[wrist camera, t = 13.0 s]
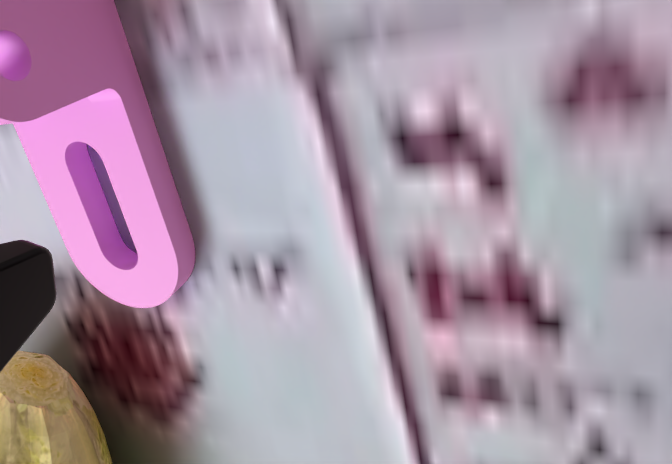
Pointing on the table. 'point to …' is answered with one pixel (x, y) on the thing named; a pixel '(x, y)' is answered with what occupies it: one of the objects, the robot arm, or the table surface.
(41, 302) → the robot arm
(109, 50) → the bracket
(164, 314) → the table surface
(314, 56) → the table surface
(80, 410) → the lettuce
